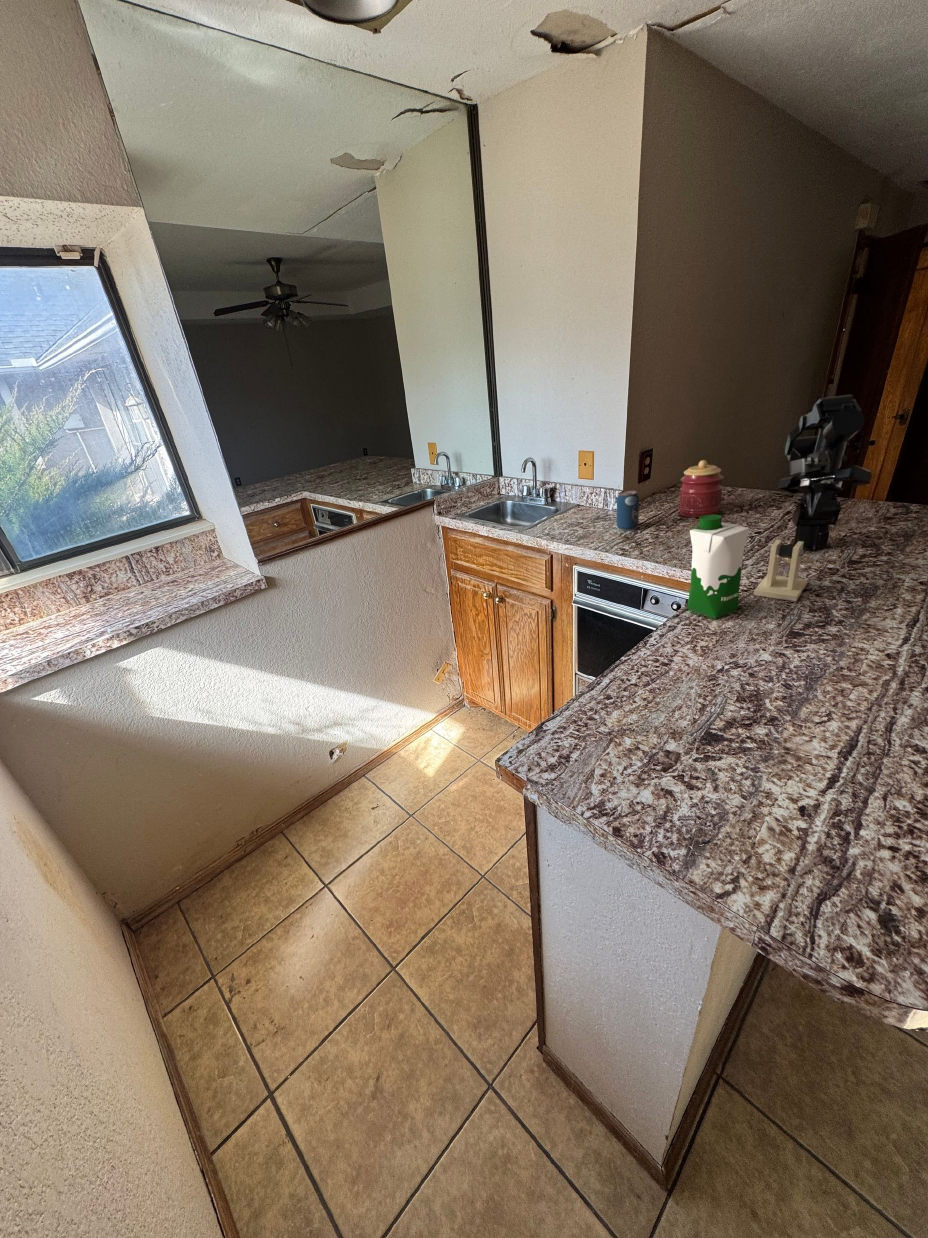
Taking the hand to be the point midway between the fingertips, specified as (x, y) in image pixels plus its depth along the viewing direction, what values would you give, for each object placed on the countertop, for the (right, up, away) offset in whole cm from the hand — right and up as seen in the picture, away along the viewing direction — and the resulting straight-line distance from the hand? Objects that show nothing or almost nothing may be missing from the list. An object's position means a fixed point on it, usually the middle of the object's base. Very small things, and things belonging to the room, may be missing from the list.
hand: (811, 516), depth 113 cm
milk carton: (-28, -22, -9) cm, 37 cm away
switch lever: (-10, -12, -6) cm, 16 cm away
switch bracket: (-11, -18, -6) cm, 22 cm away
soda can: (-27, +7, +49) cm, 56 cm away
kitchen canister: (0, +13, +53) cm, 54 cm away
